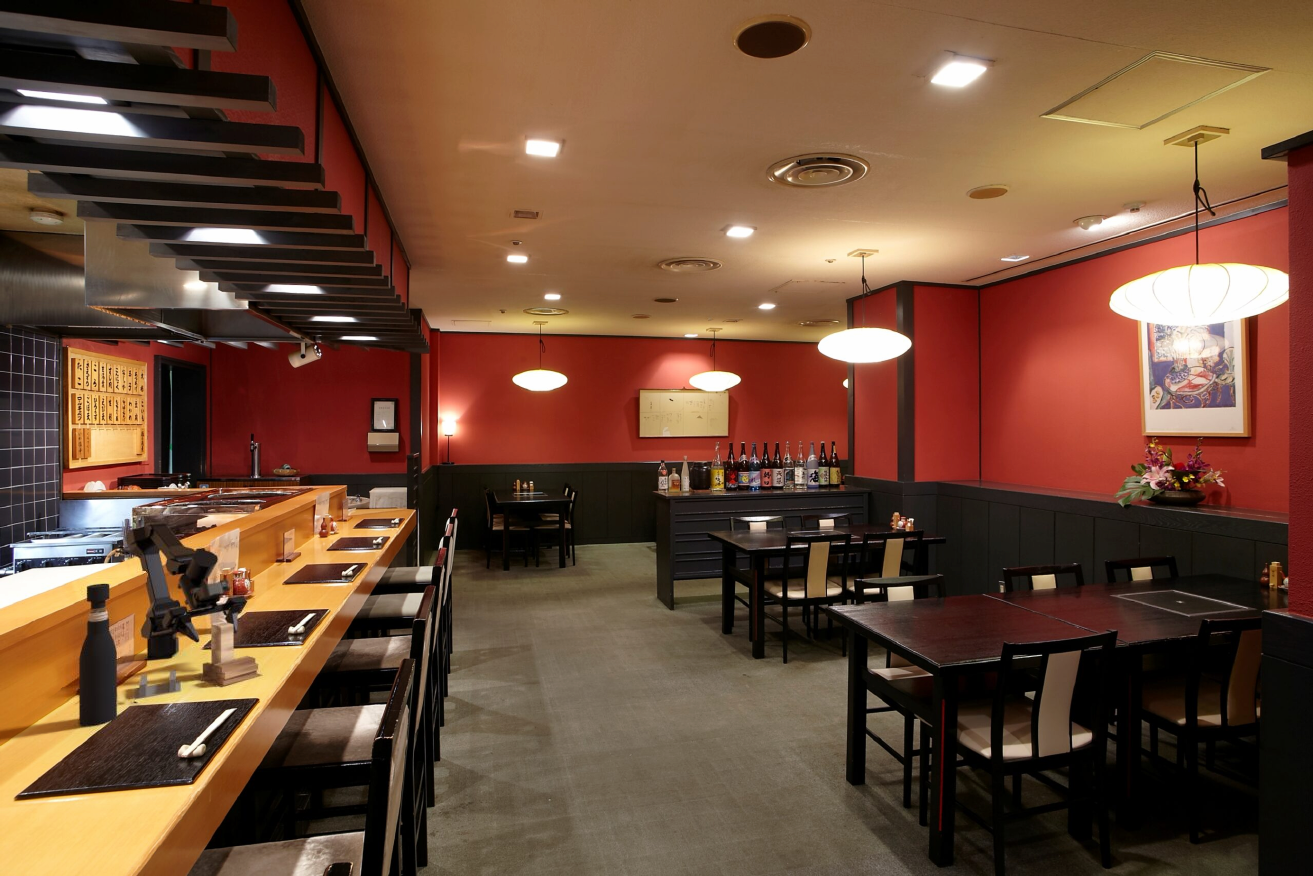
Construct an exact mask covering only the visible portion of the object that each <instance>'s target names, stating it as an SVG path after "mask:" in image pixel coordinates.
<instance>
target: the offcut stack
mask: <svg viewBox="0 0 1313 876" xmlns="http://www.w3.org/2000/svg"><path fill="white" fill-rule="evenodd" d="M258 670H259V664H258V663H257V662H256V658H255V657H252V656H249V655H245V656H241V657H236V658H234V659H233V660H229V661H225V662H222V663H218V664H214V671H217V676H216V683H219V684H221V685H226V684H230V683H233V682H237V681H240V680H243V679H247V678H250V677H254V676H257V673H258Z"/></svg>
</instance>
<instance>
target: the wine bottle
mask: <svg viewBox="0 0 1313 876" xmlns="http://www.w3.org/2000/svg"><path fill="white" fill-rule="evenodd" d="M107 600H108V601H109V600H110V583H97V584H96V583H95V584H90V585H87V586H86V602H88V603H90V611H89V614H88V620H87V622H86V623H87V624H86V625H87V626H86V628H87V629H86V633H87V634H86V636H85V638H84V641H83V644H82V646H81V649H80V652H79V653H80V654H79V659H78V661H79V662H78V664H79V666H78V668H79V669H78V672H79V673H78V674H79V675H78V677H79V678H78V684H79V685H78V687H79V688H78V689H79V690H78V691H79V692H78V693H79V694H78V695H79V696H78V698H79V699H78V700H79V701H78V703H79V705H78V708H79V709H78V710H79V711H78V713H79V714H78V715H79V720H78V723H79V725H80V726H81V727H93V726H99V725H103V724H106V723H109V722H111V721H114V720H115V719H117V717H118V681H117V680H118V652H117V648H116V644H115V643H116V642H115V640H114V638H113V635H112V634H111V632H110V619H109V615H108V614H109V612H108V610H107V606H106V601H107Z"/></svg>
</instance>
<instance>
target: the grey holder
mask: <svg viewBox="0 0 1313 876" xmlns="http://www.w3.org/2000/svg"><path fill="white" fill-rule="evenodd" d="M139 680H140V681H139V685H138V686H139V687H136V688H135V692H134V698H133V704H134V703H135V704H138V702H137V701H135V700H139V699H145V698H151V697H152V698H153V697H157V696H161V695H168V694H173V693H179V692H181V690H182V689H181V688H182V687H181V686H182V685H181V683H182V681H181V680H177V670H176V669H173V670H169V682H164V683H158V684H157V683H156V684H152V685H148V674H144V675H140V679H139Z"/></svg>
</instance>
